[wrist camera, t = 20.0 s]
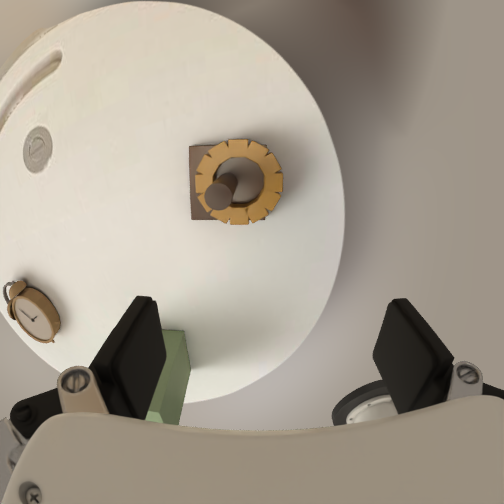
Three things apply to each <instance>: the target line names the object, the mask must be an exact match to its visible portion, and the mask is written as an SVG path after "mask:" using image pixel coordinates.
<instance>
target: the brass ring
mask: <svg viewBox="0 0 504 504" xmlns="http://www.w3.org/2000/svg"><path fill="white" fill-rule="evenodd" d="M268 151H269V149H267V148H265V147H264V146H262V145H260V144H258V143H256V142H255V141H253V140H252V141H251V143H250V145H249V146H248V139H229V140H228V144H227V142H226V141H223V142H221V143H220V144H218V145H216V146H215V147H213V148H211V149H210V150H208V152H209V154H210V155H209V154H205V155H204V156H203V158H202V160H201V162H200V164H199V166H198V168H197V170H196V171H198V172H200V173H198V174H196V175H195V185H196V193H201V194H200V195H199V196H198V197H197V198H198V199H199V201H200V202H201V204H202V205H203V207H204V208H205V210H206V212H209V211H210V210H212V209H211V208H210V207H209V206H208V205H207V204H206V202H205V199H204V195H205V191H206V189H207V188H208V187H209V186H210V185H211V184H212V183H213V182H214V181H215V174H216V172H217V171H218V169H219V167H220V165H221V163H223V162H225V161H226V160H228V159H230V158H231V157H246V158H248V159H250V160H251V161H253V162H255V163H257V164H258V166H259V167H260V169H261V171H262V172H263V174H264V187H263V189H262V190H261V192H260V194H259V196H258V197H257V198H256V199H254V200H252V201H250V202H249V203H247V204H233V203H231V204H230V205H229V206H228V207H227V208H226V209H224V210H219V211H218V210H213V211H212V212H211V214H210V215H211V216H213V217H214V218H216V219H218V220H220V221H222V222H224V223H226V224H227V222H228V220H229V218H230V224H231V225H246V224H249V218H250V220H251V222H252V223H254V222H256V221H258V220H260V219H262V218H263V217H265V216H267V215H268V210H270V211H272V210H273V209H274V207H275V206H276V204H277V202H278V201H279V199H280V197H281V195H280V193H279V192H282V191H283V173H282V172H278V171H279V170H281V167H280V165H279V163H278V162H277V160H276V158H275V156H274V155H273V153H269V154H267V152H268ZM266 154H267V155H266ZM267 209H268V210H267Z"/></svg>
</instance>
